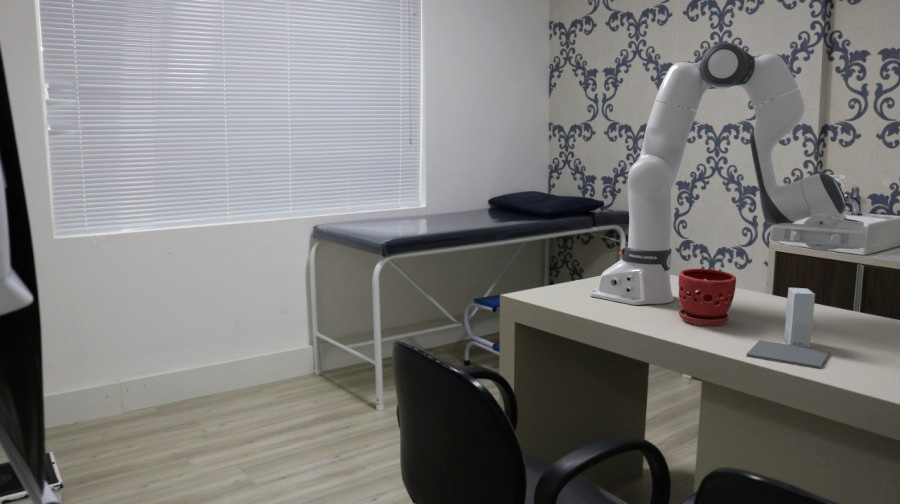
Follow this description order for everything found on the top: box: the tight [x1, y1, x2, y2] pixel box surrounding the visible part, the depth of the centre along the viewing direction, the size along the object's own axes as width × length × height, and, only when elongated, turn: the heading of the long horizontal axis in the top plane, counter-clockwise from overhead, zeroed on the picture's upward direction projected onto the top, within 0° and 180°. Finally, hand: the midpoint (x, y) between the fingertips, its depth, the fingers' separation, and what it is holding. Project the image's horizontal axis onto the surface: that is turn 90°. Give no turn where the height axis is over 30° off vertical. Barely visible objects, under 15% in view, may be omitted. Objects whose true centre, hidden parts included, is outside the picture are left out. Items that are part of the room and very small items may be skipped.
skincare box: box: [783, 287, 816, 348], centre depth 162 cm, size 6×4×12 cm
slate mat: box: [745, 339, 831, 369], centre depth 155 cm, size 14×12×1 cm
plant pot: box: [678, 268, 737, 327], centre depth 180 cm, size 13×13×12 cm
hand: (812, 239), depth 167 cm, fingers open, 5 cm apart
